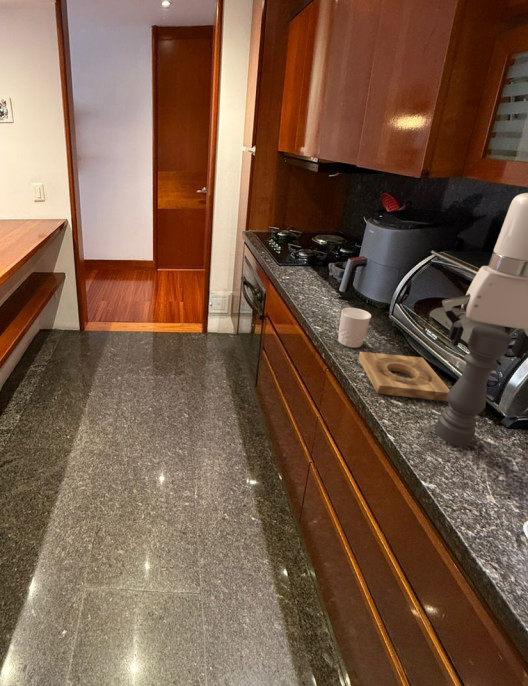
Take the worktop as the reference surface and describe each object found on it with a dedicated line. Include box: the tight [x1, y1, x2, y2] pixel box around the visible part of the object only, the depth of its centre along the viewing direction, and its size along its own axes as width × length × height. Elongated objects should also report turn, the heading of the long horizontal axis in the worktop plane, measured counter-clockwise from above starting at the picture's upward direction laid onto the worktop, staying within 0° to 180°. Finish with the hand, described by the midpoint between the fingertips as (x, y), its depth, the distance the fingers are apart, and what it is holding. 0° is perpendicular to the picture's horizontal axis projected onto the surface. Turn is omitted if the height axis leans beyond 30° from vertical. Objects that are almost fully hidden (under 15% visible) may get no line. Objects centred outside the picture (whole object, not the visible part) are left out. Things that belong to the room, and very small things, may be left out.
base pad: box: [357, 351, 451, 403], centre depth 101 cm, size 16×16×2 cm
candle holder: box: [434, 326, 512, 448], centre depth 78 cm, size 6×6×25 cm
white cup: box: [337, 307, 372, 349], centre depth 117 cm, size 8×8×10 cm
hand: (484, 348), depth 75 cm, fingers open, 9 cm apart
